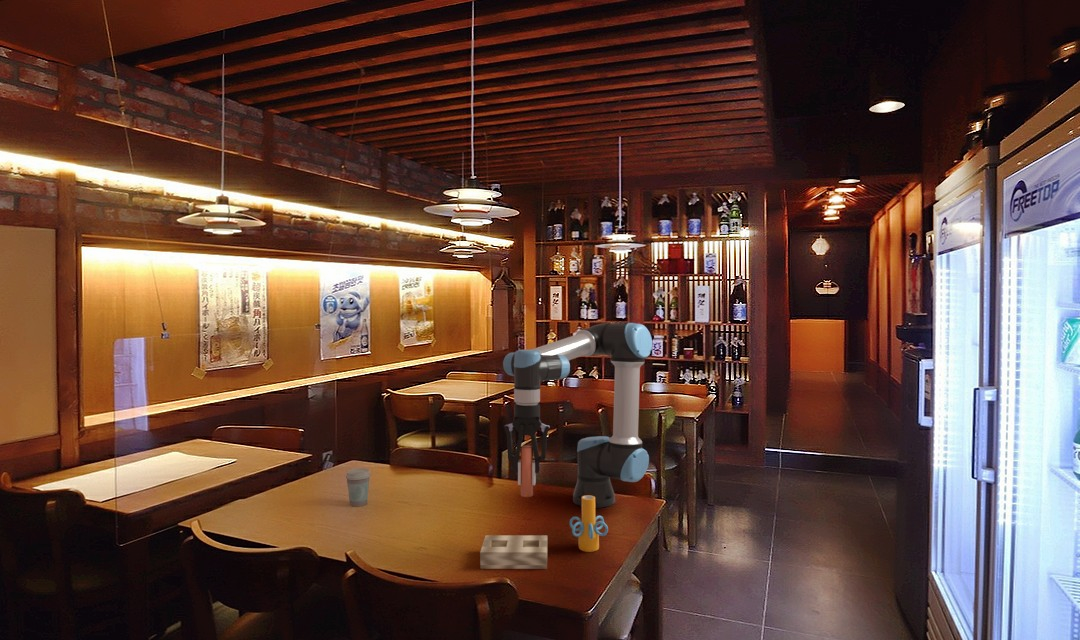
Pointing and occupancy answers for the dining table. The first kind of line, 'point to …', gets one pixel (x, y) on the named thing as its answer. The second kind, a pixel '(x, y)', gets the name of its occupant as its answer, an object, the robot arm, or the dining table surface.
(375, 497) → the dining table surface
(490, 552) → the socket block
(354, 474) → the coffee cup
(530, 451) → the dowel
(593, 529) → the cylinder
